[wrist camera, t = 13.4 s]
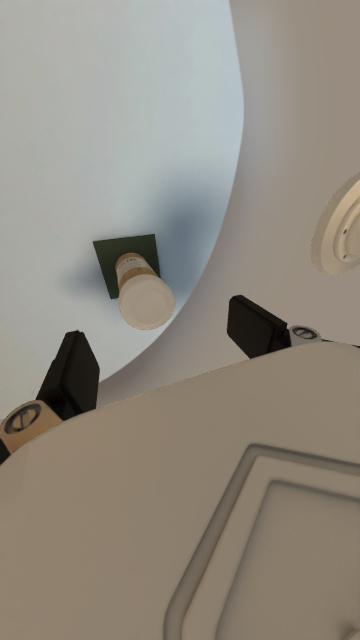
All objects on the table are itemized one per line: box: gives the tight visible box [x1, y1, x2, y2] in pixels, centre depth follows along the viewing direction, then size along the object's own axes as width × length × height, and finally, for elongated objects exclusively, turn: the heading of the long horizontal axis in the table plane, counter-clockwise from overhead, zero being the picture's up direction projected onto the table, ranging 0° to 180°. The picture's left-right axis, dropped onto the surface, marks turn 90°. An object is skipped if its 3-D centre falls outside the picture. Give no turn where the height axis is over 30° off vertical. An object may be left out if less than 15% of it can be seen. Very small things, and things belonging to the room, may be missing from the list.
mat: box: [93, 234, 161, 299], centre depth 25 cm, size 8×8×1 cm
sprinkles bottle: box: [116, 253, 175, 330], centre depth 19 cm, size 5×5×13 cm
